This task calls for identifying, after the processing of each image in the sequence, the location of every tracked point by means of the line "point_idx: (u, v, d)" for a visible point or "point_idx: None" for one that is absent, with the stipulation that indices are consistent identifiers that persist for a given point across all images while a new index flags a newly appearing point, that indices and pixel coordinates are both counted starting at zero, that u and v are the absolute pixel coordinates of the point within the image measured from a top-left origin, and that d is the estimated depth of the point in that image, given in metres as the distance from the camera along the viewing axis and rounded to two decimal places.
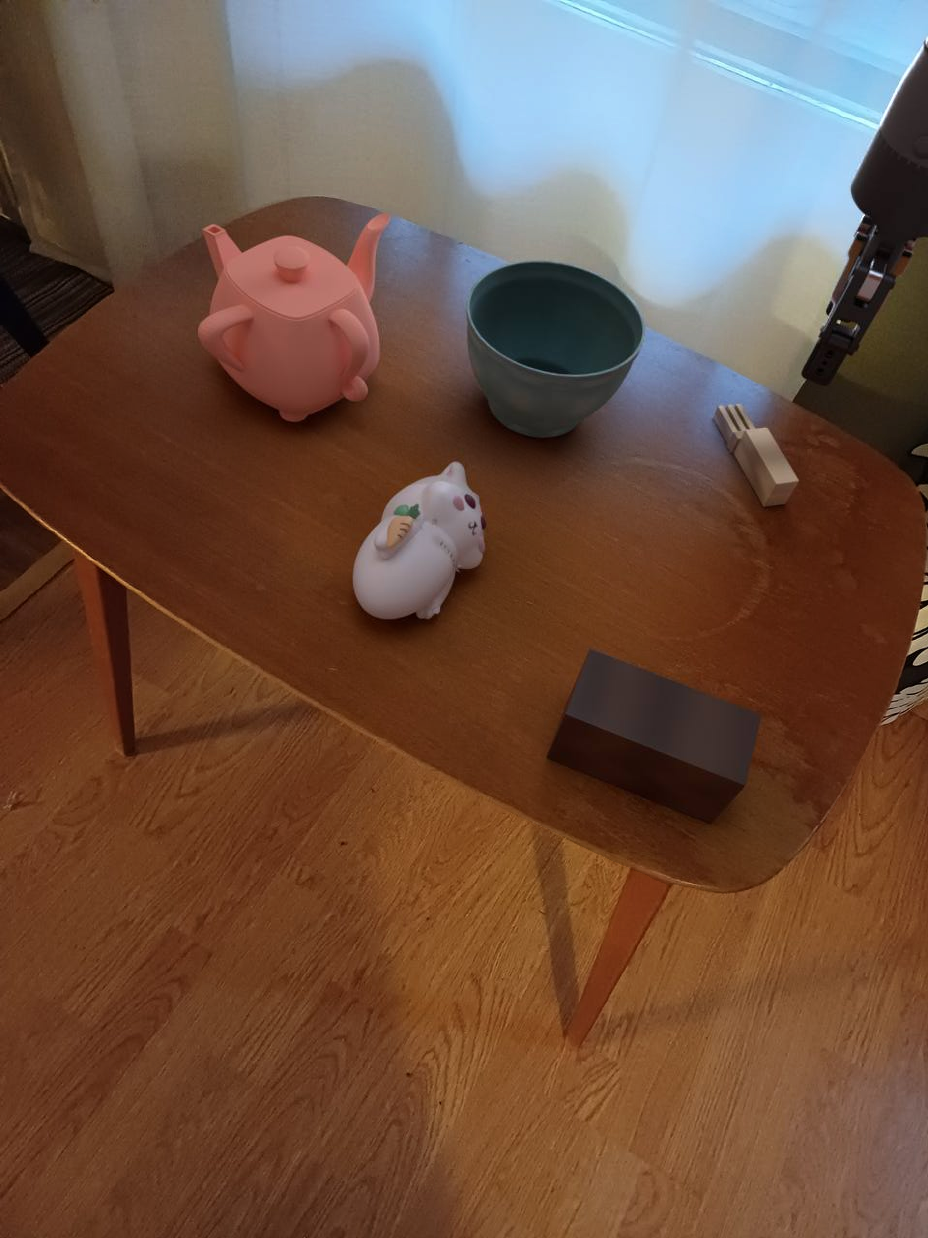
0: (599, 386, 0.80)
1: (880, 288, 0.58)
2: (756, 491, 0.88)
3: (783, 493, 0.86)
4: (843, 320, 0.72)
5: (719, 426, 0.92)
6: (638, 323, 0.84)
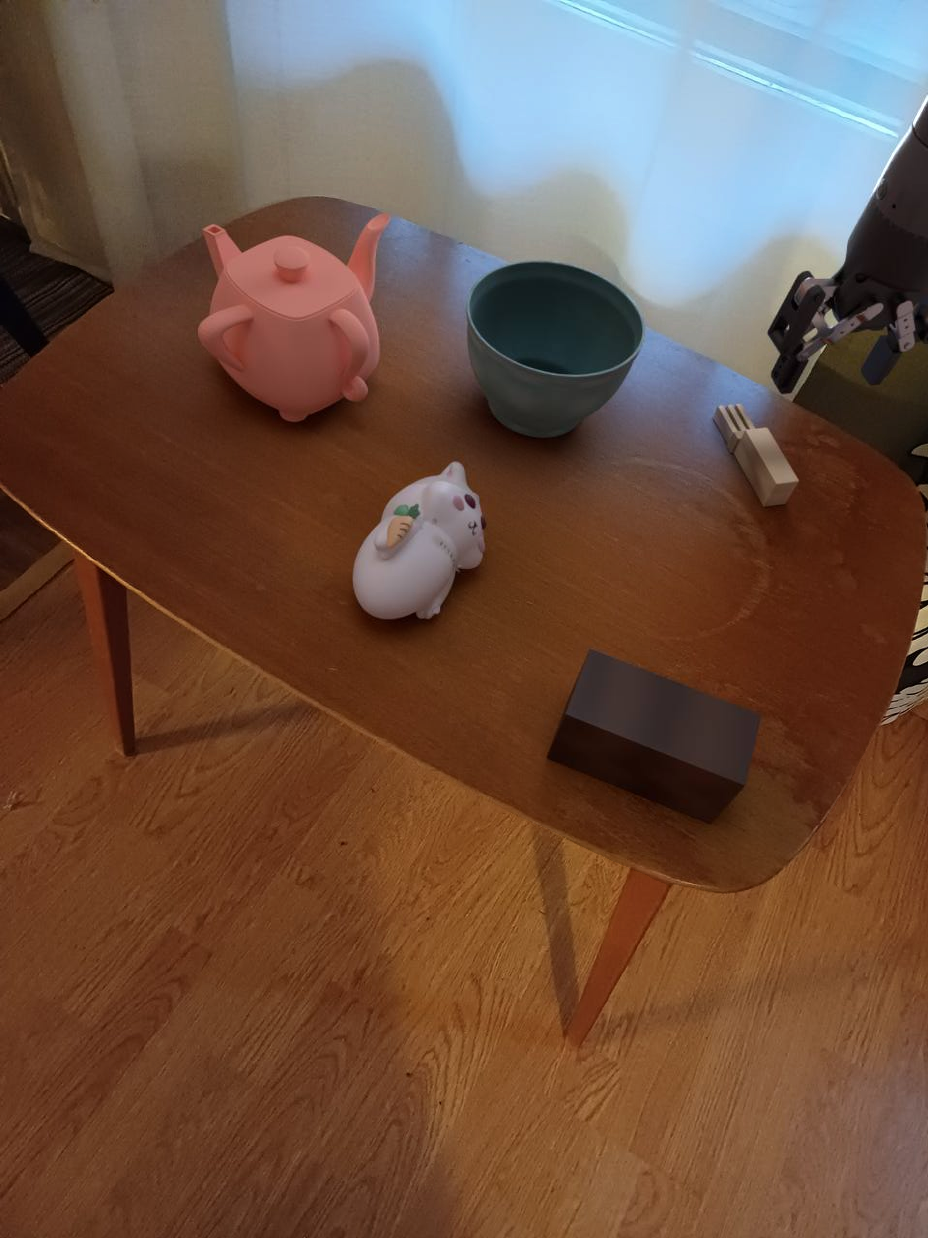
0: (599, 386, 0.80)
1: (806, 295, 0.68)
2: (756, 491, 0.88)
3: (783, 493, 0.86)
4: (868, 381, 0.78)
5: (719, 426, 0.92)
6: (638, 323, 0.84)
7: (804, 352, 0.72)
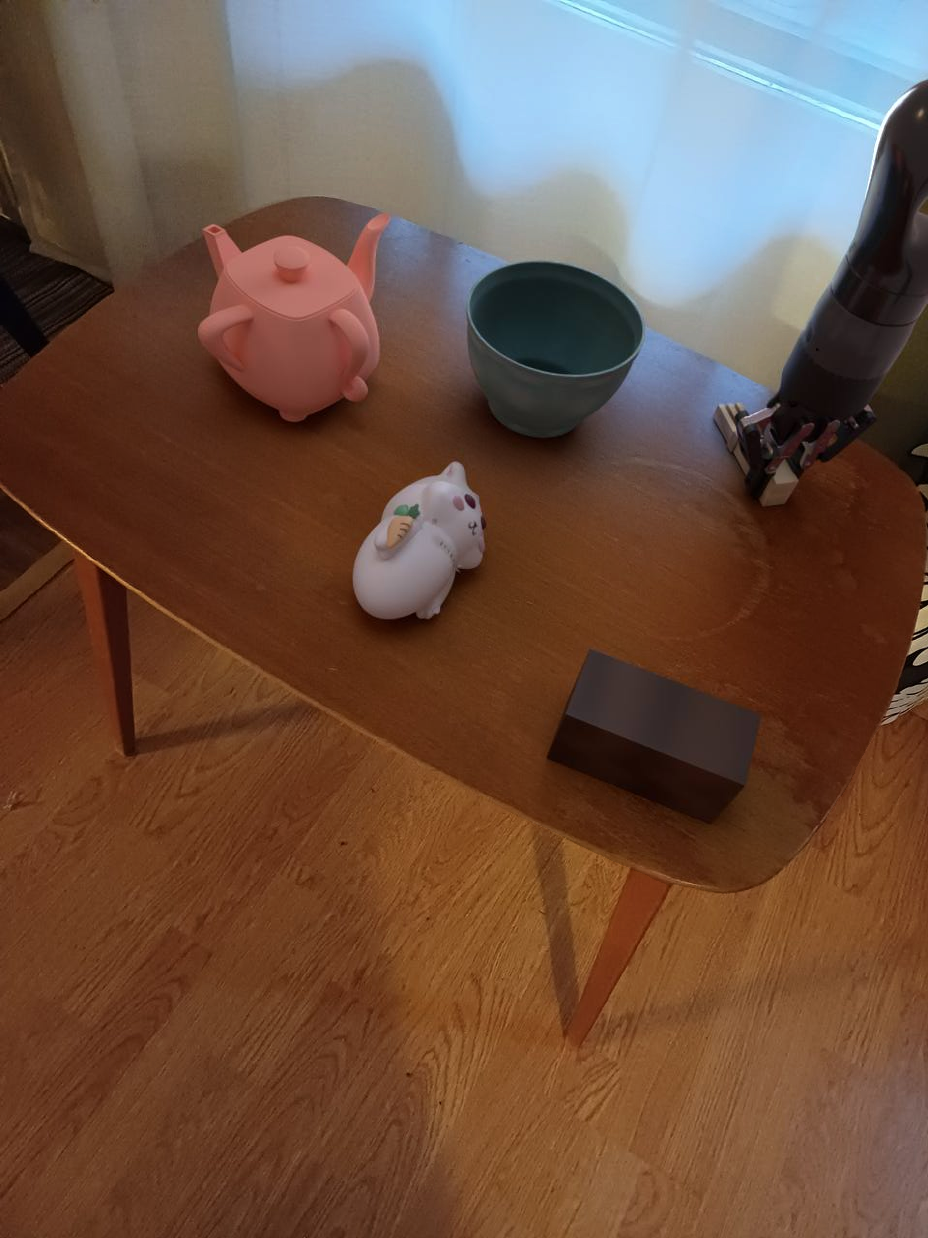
0: (599, 386, 0.80)
1: (743, 434, 0.79)
2: None
3: (783, 493, 0.86)
4: None
5: (719, 425, 0.92)
6: (638, 323, 0.84)
7: (769, 468, 0.84)
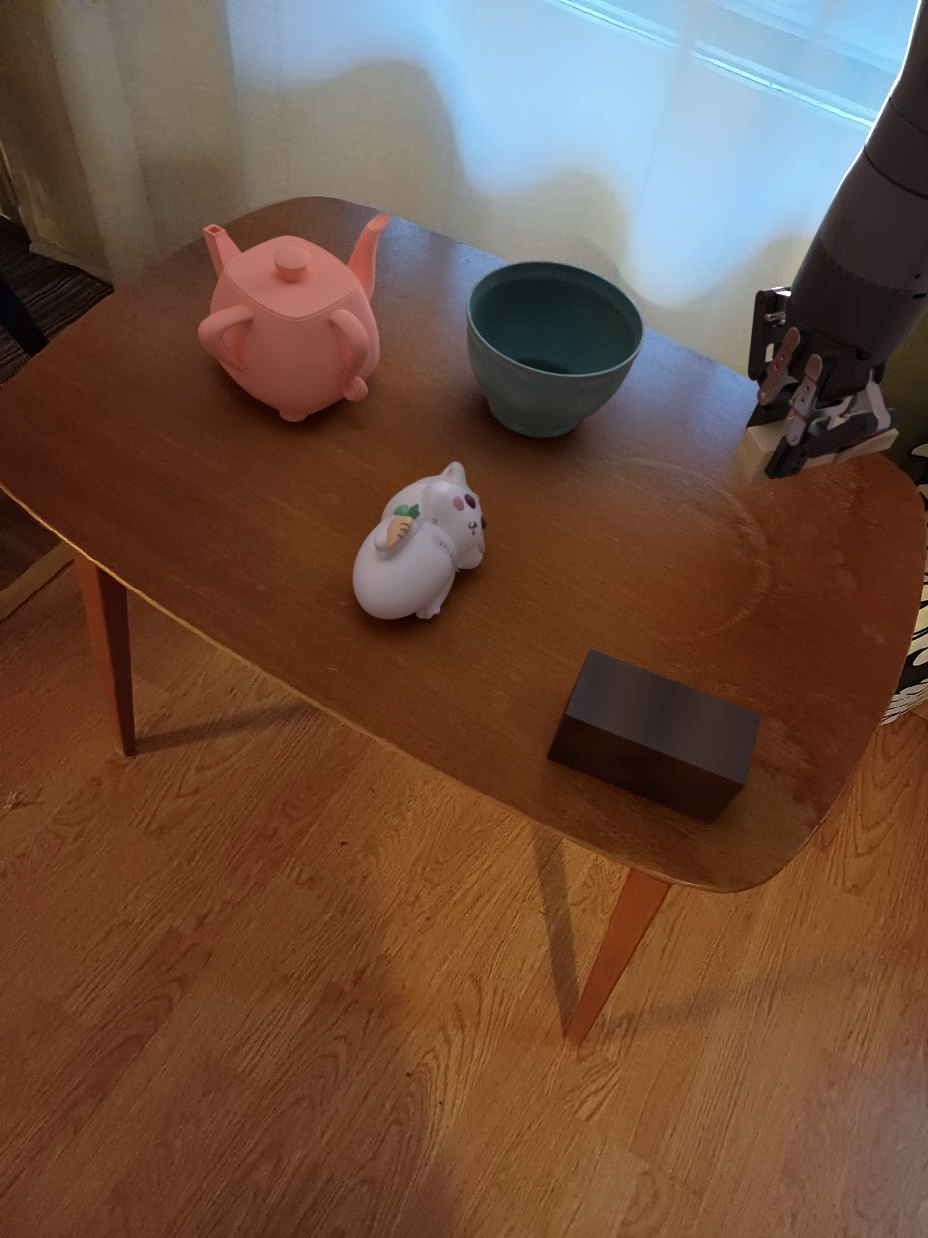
0: (599, 386, 0.80)
1: None
2: None
3: (750, 457, 0.65)
4: None
5: None
6: (638, 323, 0.84)
7: (760, 391, 0.63)
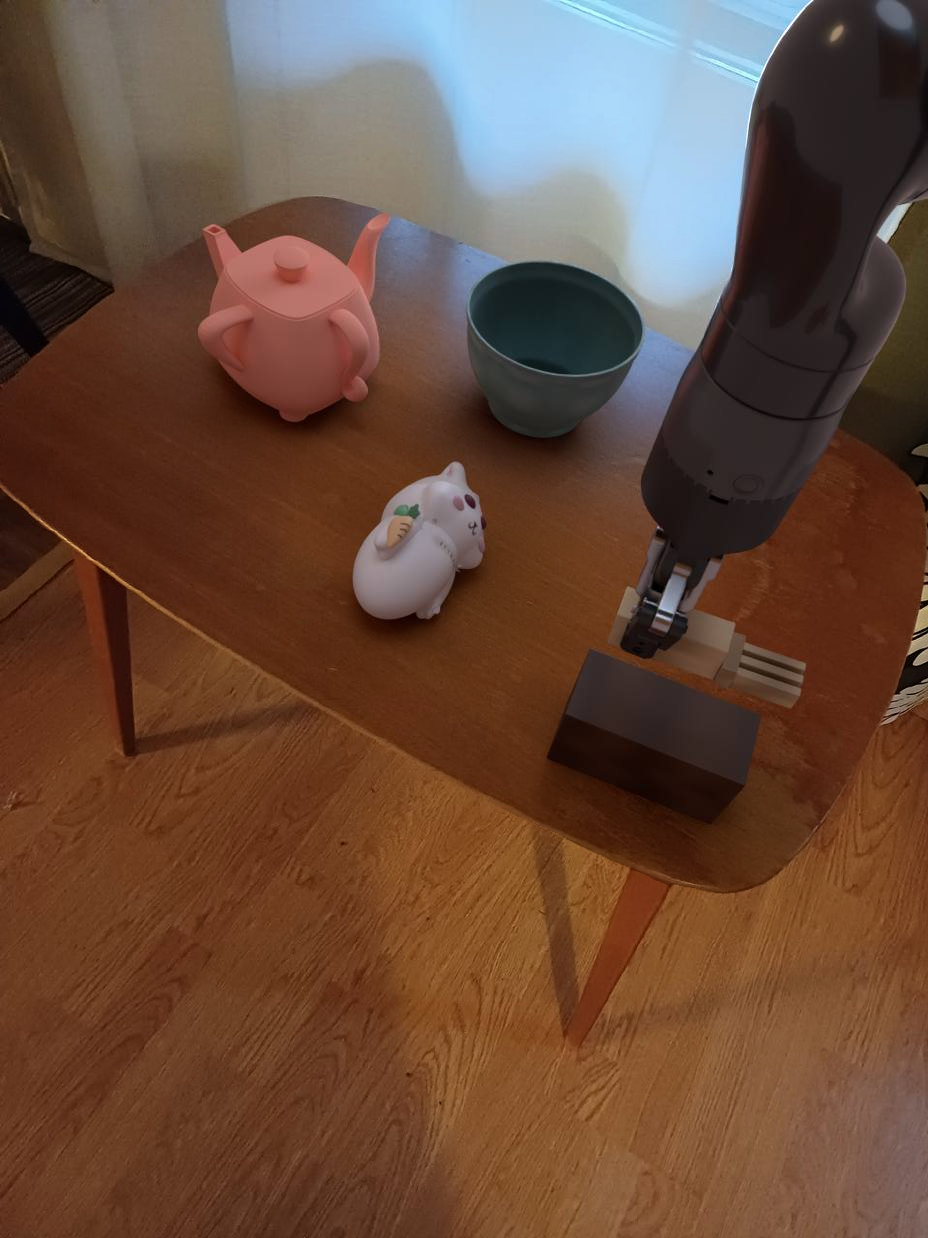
0: (599, 386, 0.80)
1: None
2: None
3: None
4: None
5: None
6: (638, 323, 0.84)
7: None
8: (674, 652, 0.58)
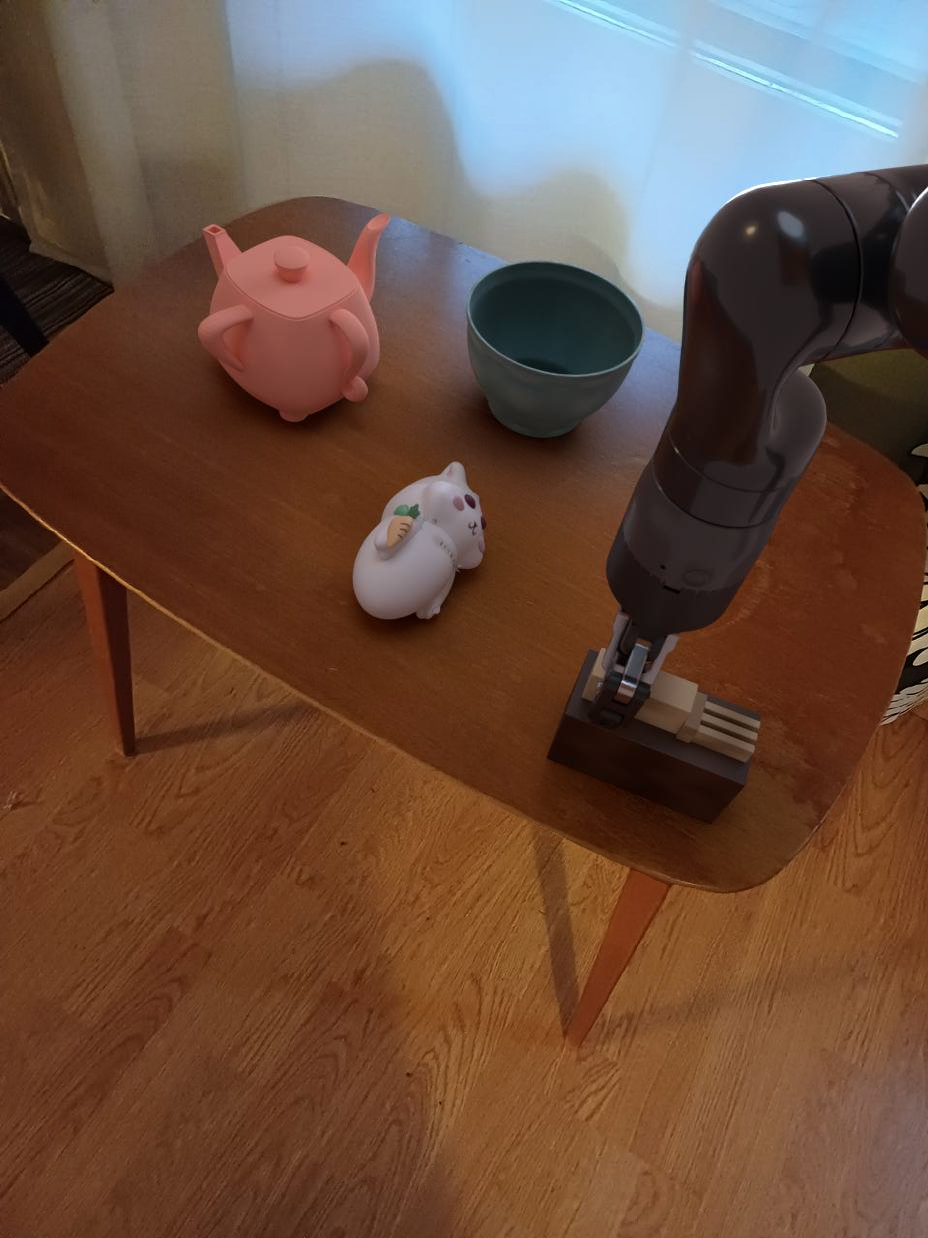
0: (599, 386, 0.80)
1: None
2: None
3: (590, 674, 0.64)
4: None
5: None
6: (638, 323, 0.84)
7: None
8: (642, 709, 0.63)
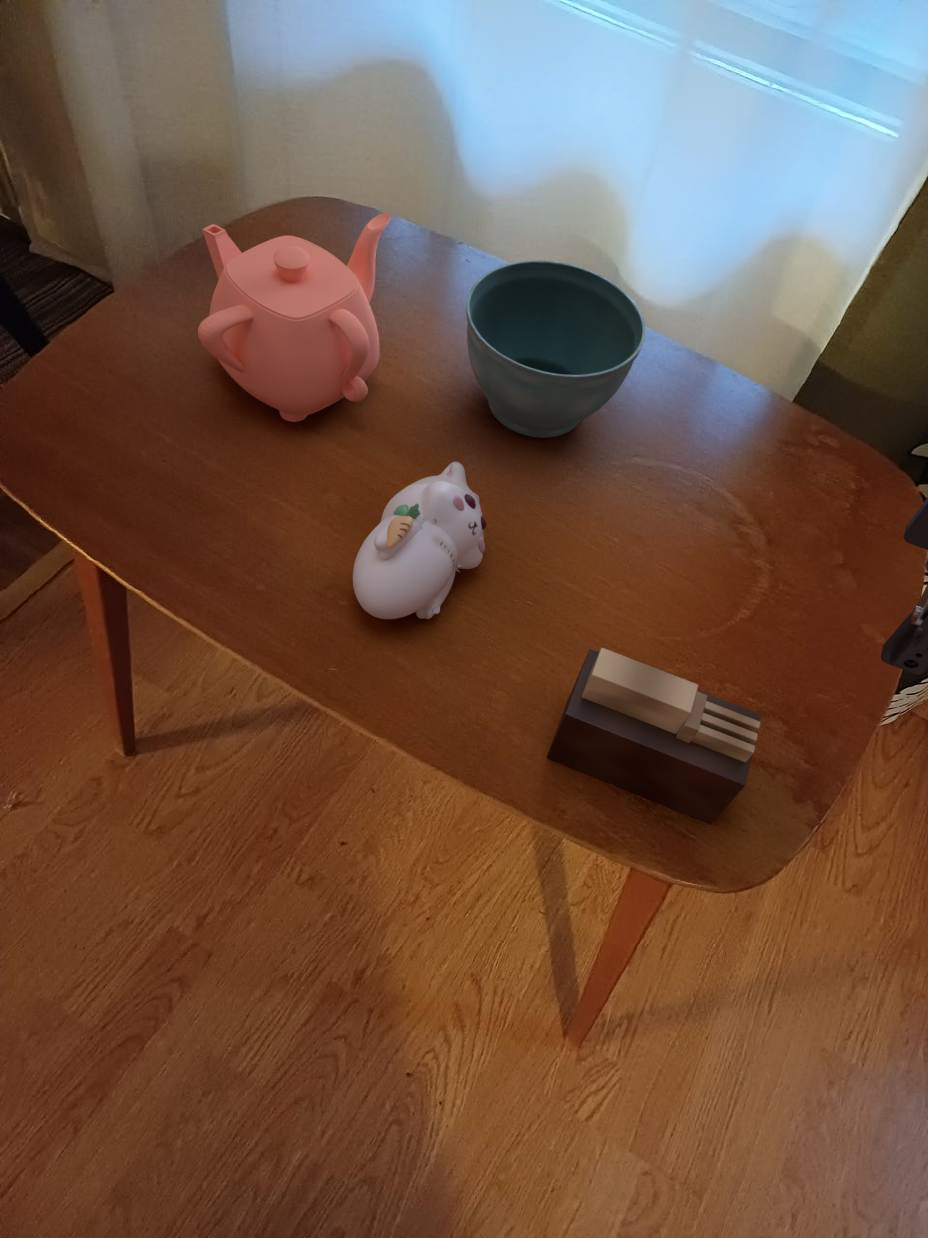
0: (599, 386, 0.80)
1: None
2: None
3: (590, 674, 0.64)
4: None
5: None
6: (638, 323, 0.84)
7: None
8: (642, 709, 0.63)
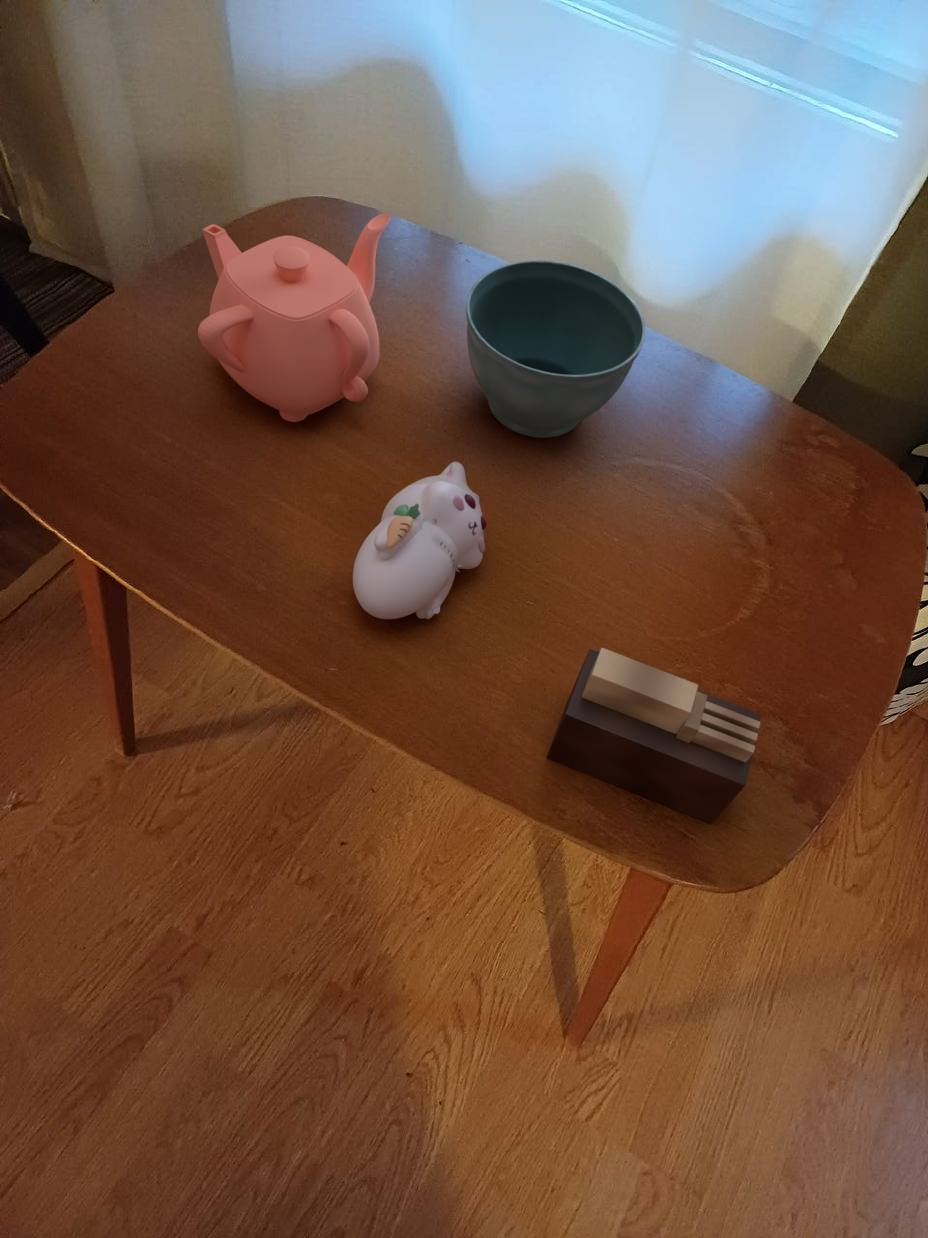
0: (599, 386, 0.80)
1: None
2: None
3: (590, 674, 0.64)
4: None
5: None
6: (638, 323, 0.84)
7: None
8: (642, 709, 0.63)
